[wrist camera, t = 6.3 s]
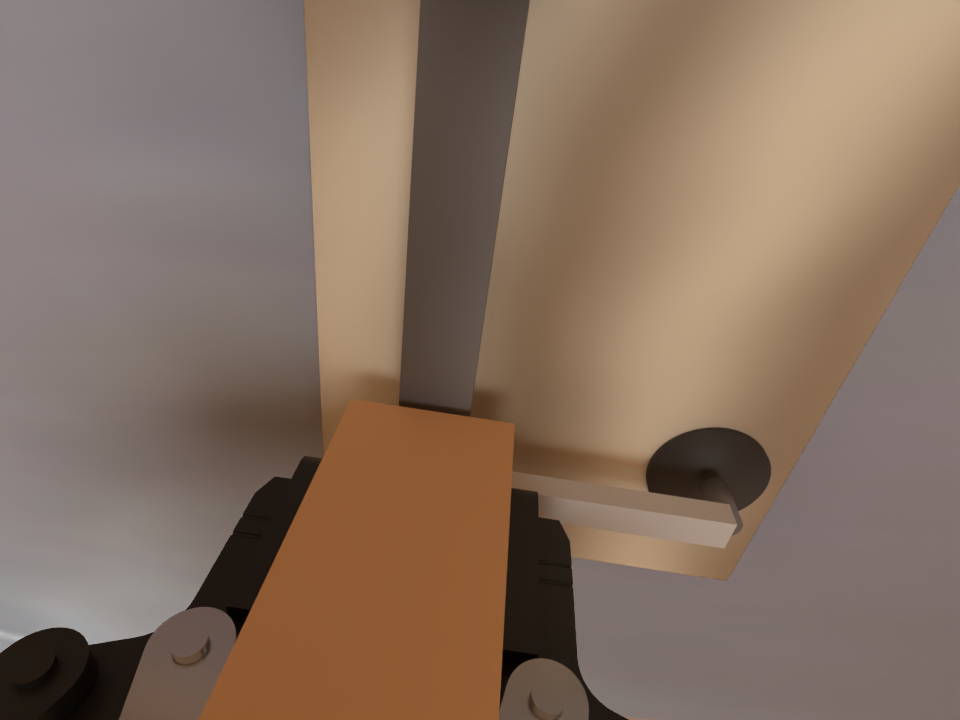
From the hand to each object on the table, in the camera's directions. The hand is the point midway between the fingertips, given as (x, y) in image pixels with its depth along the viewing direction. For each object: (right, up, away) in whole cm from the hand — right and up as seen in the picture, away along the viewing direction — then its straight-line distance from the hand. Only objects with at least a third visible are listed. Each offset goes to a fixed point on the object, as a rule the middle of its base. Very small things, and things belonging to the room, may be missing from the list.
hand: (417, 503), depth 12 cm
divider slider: (+3, +1, +2) cm, 3 cm away
